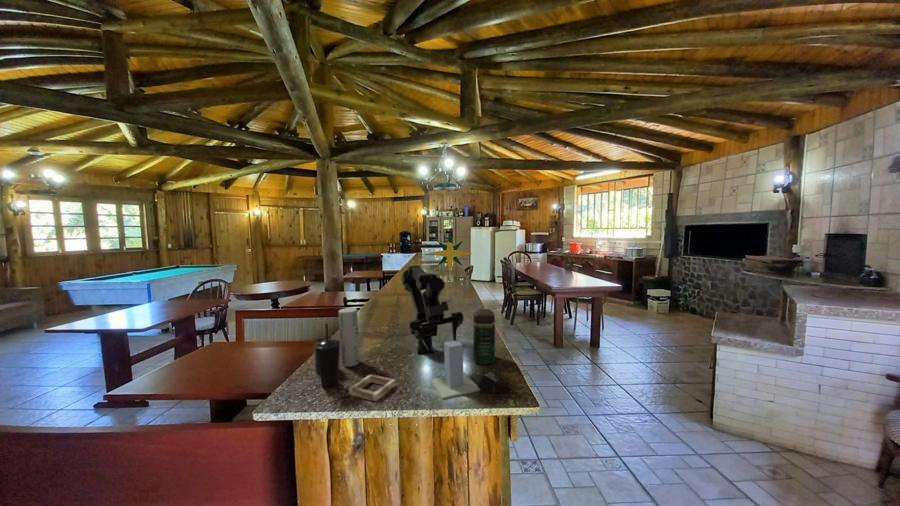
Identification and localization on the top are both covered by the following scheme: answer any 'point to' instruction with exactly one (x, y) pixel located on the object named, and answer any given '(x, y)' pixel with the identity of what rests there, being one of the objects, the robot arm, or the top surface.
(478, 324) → the coffee jar
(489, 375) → the lighter
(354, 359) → the spray can
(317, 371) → the supplement bottle
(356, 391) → the pocket
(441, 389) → the mat
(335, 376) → the drinking cup
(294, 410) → the top surface
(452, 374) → the post
